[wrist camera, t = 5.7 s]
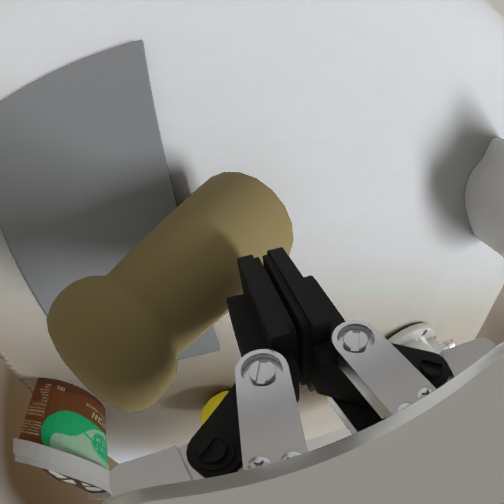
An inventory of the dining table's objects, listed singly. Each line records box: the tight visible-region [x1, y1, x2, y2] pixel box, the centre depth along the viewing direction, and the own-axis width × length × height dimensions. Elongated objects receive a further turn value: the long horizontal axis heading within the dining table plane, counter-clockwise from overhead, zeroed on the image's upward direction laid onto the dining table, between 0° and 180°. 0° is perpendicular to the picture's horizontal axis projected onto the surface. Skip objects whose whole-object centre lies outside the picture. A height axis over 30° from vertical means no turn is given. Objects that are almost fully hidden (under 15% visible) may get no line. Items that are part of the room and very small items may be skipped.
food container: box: [13, 378, 112, 499], centre depth 19 cm, size 12×6×10 cm, turn 7°
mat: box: [0, 40, 220, 360], centre depth 16 cm, size 12×22×1 cm, turn 7°
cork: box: [47, 172, 293, 413], centre depth 12 cm, size 6×6×11 cm
